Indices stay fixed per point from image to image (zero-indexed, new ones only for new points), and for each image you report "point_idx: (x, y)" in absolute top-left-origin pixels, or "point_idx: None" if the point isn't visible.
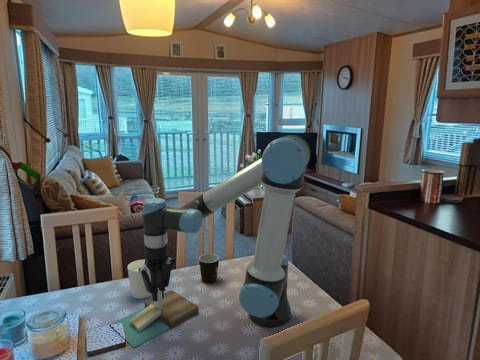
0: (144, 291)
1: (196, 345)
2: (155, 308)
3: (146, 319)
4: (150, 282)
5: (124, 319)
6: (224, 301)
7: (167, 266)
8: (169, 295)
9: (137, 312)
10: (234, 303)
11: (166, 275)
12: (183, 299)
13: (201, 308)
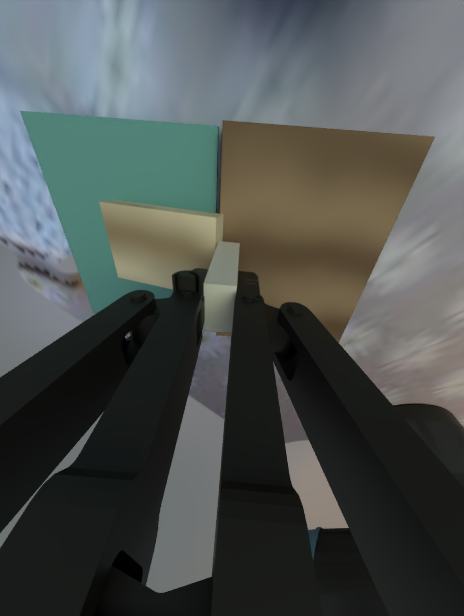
0: None
1: (219, 391)
2: (209, 263)
3: (153, 274)
4: (91, 422)
5: (99, 141)
6: (426, 348)
7: (403, 598)
8: (362, 187)
9: (174, 138)
10: (422, 371)
11: (310, 425)
12: (357, 275)
13: (355, 321)
